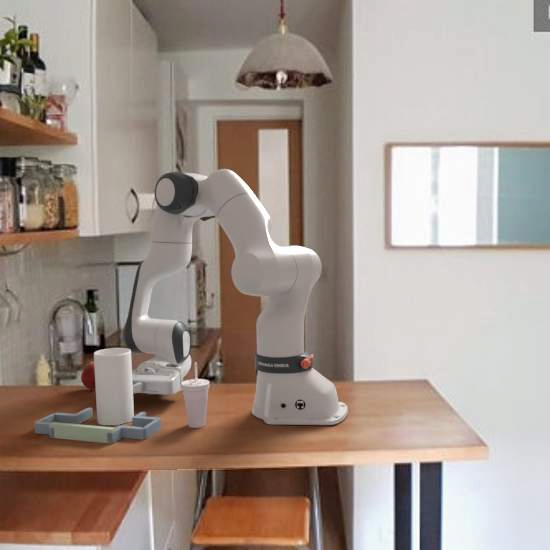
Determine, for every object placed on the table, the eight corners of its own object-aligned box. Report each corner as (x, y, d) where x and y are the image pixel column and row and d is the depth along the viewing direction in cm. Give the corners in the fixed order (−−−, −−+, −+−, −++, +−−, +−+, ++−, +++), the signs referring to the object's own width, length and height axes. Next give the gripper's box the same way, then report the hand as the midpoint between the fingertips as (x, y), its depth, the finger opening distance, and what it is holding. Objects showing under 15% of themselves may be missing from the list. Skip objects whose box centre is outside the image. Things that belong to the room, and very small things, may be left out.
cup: (121, 427, 126) (117, 356, 125) (89, 424, 129) (86, 354, 127) (140, 415, 134) (137, 348, 133) (111, 412, 136) (107, 347, 135)
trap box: (168, 423, 128) (167, 410, 127) (136, 446, 115) (135, 431, 114) (68, 415, 135) (68, 402, 135) (28, 435, 122) (27, 421, 122)
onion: (97, 393, 153) (95, 364, 152) (77, 393, 154) (76, 364, 153) (107, 387, 158) (106, 359, 158) (88, 387, 159) (87, 359, 159)
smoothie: (216, 421, 128) (213, 360, 127) (203, 431, 122) (201, 367, 121) (190, 419, 130) (188, 359, 129) (177, 428, 124) (174, 365, 123)
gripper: (117, 362, 150) (85, 376, 137) (187, 366, 144) (161, 380, 131) (118, 386, 151) (87, 401, 138) (188, 390, 145) (162, 407, 132)
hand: (123, 391), depth 134 cm, fingers closed, pressing on cup
